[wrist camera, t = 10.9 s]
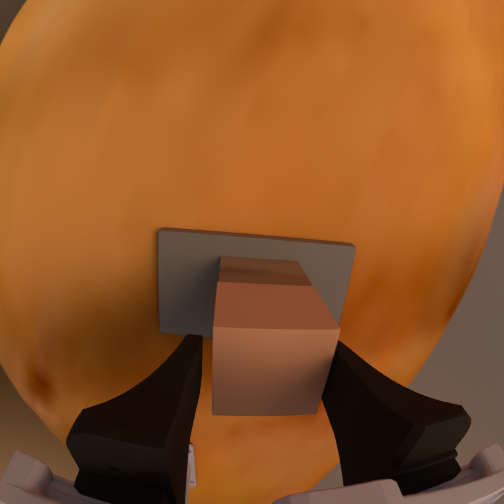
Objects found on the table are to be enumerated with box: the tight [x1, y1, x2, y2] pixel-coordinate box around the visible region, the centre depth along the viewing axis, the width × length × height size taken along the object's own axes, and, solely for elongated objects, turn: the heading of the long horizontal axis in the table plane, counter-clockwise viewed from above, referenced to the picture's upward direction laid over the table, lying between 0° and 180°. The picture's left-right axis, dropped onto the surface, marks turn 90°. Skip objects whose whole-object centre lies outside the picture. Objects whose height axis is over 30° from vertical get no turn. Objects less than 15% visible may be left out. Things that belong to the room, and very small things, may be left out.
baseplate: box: [158, 228, 356, 338], centre depth 19 cm, size 7×12×1 cm, turn 84°
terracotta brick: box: [212, 282, 341, 416], centre depth 13 cm, size 5×5×4 cm
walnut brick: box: [219, 256, 313, 286], centre depth 17 cm, size 5×5×4 cm
